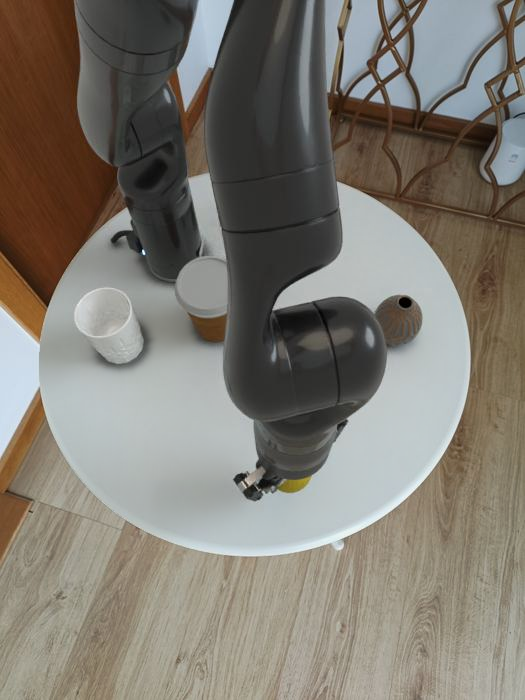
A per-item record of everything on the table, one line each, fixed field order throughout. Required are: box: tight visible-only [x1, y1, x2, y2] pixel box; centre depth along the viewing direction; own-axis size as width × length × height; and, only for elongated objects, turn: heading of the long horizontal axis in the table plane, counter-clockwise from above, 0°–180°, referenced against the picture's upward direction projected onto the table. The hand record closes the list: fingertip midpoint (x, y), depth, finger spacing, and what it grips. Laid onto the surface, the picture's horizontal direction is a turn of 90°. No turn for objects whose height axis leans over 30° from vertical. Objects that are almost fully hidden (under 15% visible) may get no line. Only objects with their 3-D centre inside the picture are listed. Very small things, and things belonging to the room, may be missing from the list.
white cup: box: [73, 286, 145, 365], centre depth 77 cm, size 8×8×10 cm
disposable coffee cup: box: [174, 255, 228, 343], centre depth 77 cm, size 10×10×12 cm
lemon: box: [277, 476, 312, 494], centre depth 65 cm, size 6×6×8 cm
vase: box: [374, 294, 424, 347], centre depth 77 cm, size 7×7×9 cm
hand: (289, 470), depth 65 cm, fingers closed on lemon, 5 cm apart
